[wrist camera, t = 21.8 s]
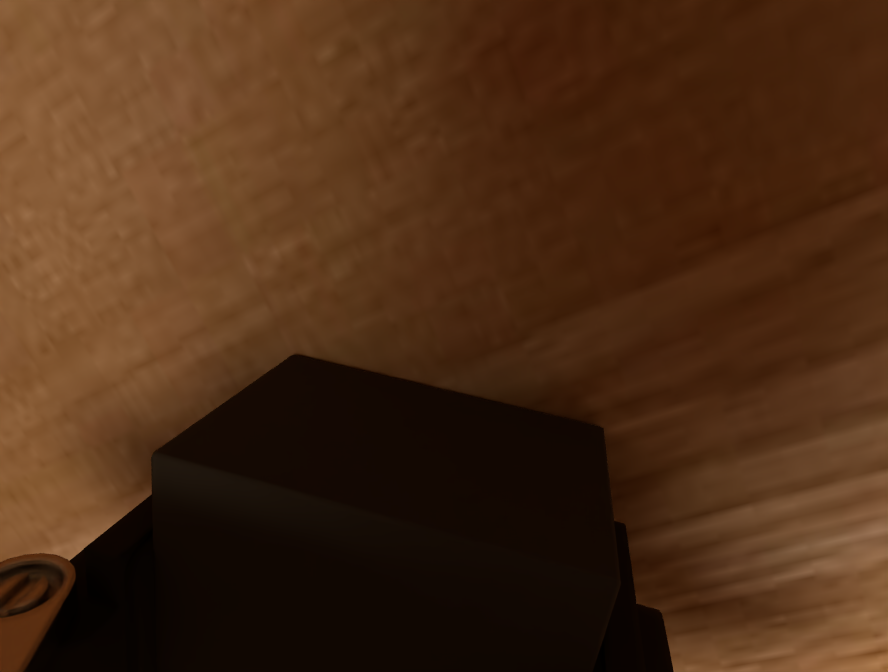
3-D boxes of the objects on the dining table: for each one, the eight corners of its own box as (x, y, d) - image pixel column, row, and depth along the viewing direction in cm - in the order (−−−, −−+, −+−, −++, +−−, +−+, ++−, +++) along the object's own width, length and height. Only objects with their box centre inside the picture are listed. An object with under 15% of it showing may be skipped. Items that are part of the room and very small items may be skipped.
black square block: (604, 425, 10) (623, 583, 6) (535, 675, 12) (518, 906, 8) (292, 352, 11) (148, 453, 7) (275, 595, 13) (155, 771, 9)
